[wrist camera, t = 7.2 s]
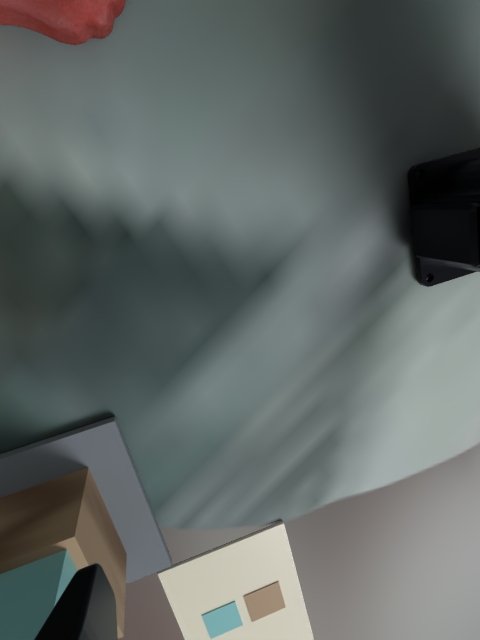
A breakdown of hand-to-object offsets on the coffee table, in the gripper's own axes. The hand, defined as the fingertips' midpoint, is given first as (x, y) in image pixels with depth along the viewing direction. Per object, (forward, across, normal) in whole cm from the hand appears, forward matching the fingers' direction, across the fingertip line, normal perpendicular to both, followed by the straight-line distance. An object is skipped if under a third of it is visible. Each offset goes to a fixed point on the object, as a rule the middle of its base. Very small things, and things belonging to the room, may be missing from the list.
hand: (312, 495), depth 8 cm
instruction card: (+12, +3, +19) cm, 23 cm away
